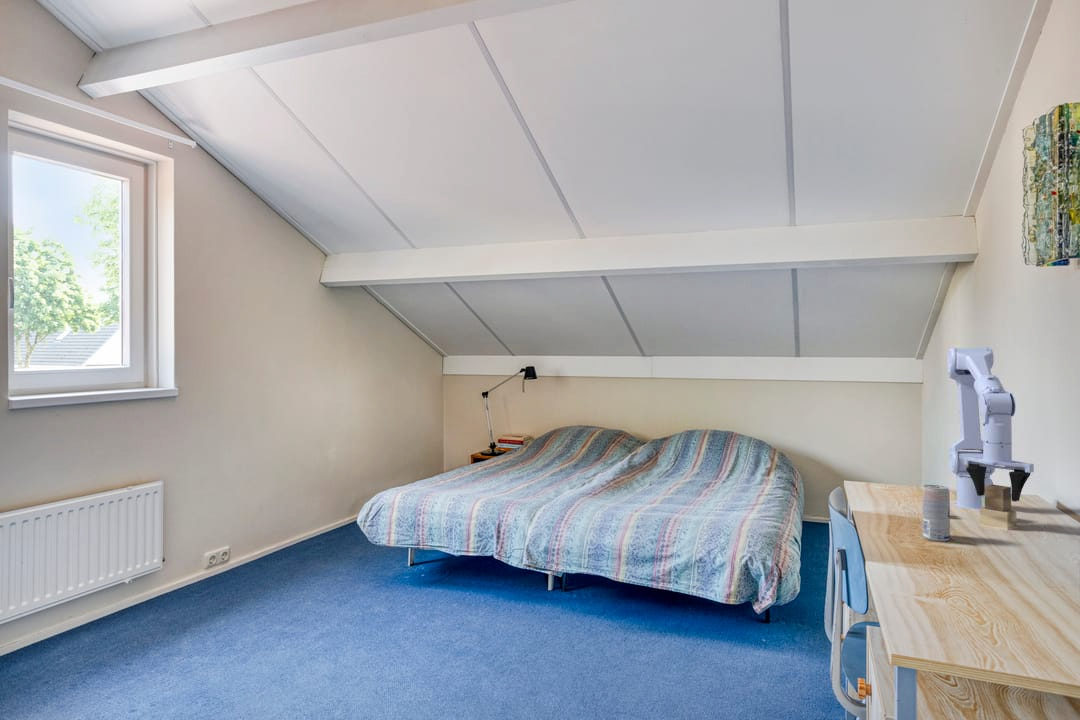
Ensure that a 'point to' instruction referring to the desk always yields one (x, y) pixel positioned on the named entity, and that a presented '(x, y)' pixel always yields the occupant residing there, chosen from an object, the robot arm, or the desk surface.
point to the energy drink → (936, 513)
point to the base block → (998, 518)
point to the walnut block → (998, 498)
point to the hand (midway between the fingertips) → (997, 498)
